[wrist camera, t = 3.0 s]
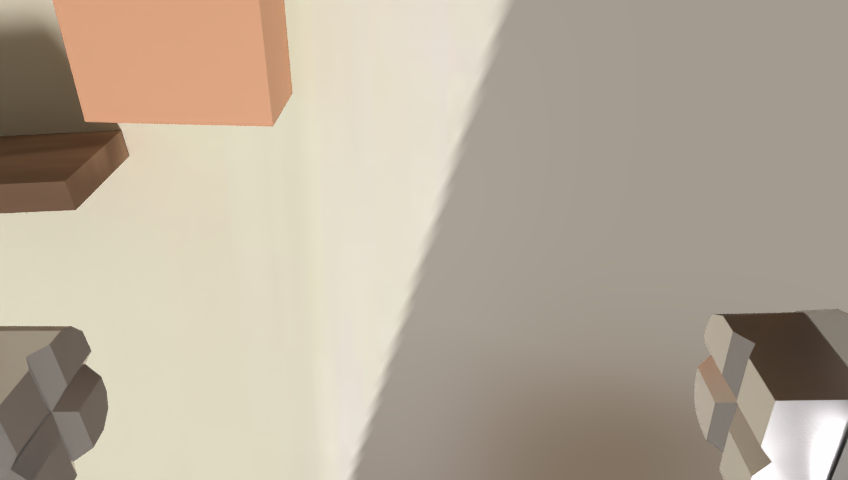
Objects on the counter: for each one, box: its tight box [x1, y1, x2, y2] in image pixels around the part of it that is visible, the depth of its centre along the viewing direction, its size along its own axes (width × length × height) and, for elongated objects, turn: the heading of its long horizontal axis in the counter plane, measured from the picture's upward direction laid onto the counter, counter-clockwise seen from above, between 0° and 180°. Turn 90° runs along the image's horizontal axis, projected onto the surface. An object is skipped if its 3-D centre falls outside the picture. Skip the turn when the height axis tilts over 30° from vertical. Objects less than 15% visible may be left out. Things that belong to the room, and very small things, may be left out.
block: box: [53, 0, 292, 126], centre depth 24 cm, size 7×7×4 cm
